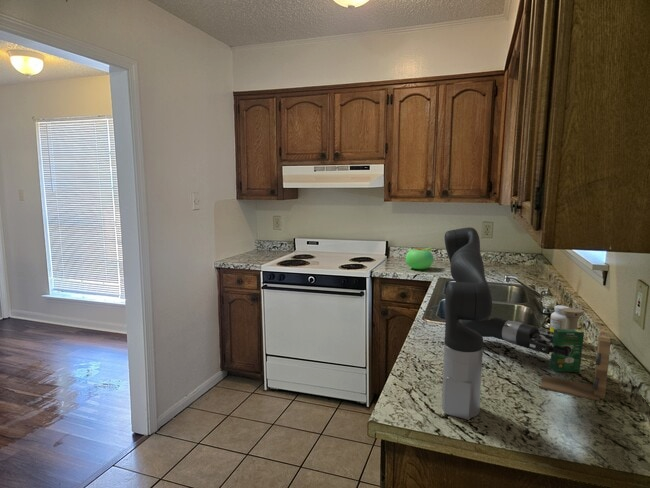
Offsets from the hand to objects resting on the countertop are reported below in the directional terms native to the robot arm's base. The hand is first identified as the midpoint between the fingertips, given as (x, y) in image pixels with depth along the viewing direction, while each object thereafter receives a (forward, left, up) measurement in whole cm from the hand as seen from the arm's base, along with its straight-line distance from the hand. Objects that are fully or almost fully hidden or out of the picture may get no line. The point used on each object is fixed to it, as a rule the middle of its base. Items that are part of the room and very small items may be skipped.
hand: (574, 349), depth 125 cm
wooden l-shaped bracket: (-9, 0, -8) cm, 12 cm away
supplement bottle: (+27, +4, -8) cm, 28 cm away
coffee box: (+1, +2, -8) cm, 8 cm away
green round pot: (+123, +87, -8) cm, 151 cm away
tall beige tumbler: (+17, +1, -8) cm, 18 cm away
